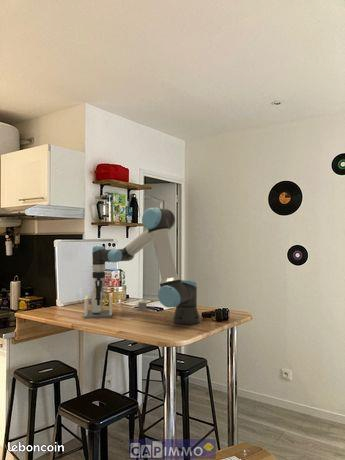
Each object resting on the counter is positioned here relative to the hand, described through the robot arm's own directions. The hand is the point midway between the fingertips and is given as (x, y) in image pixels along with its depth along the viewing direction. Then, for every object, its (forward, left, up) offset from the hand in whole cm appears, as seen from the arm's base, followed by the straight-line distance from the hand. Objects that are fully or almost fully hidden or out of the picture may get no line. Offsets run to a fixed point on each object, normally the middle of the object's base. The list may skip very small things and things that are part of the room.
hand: (98, 309), depth 218 cm
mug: (+1, 0, -2) cm, 2 cm away
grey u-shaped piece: (0, 0, -4) cm, 4 cm away
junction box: (+15, -27, -4) cm, 32 cm away
